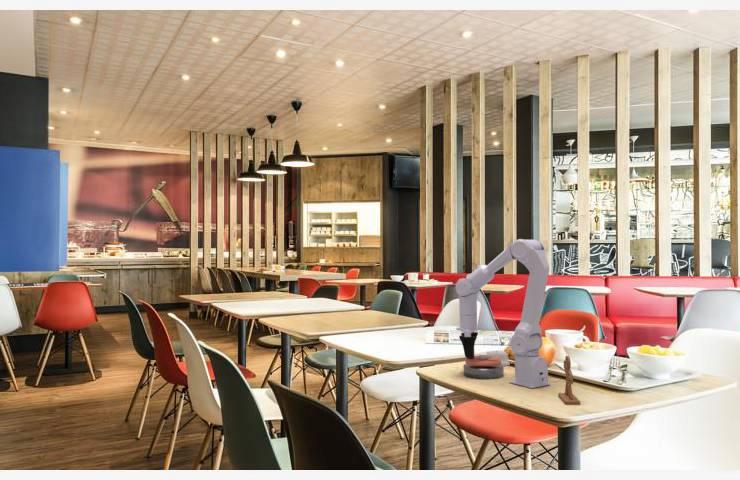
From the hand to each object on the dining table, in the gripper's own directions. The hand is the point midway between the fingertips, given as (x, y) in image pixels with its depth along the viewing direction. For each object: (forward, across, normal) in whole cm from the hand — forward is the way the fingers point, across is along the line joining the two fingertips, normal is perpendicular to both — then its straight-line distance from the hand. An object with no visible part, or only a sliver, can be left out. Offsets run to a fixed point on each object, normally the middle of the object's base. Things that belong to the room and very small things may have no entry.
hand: (469, 355), depth 185 cm
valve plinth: (+6, 0, +4) cm, 8 cm away
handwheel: (+3, 0, +4) cm, 5 cm away
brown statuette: (+6, +29, +28) cm, 41 cm away
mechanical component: (+7, -20, +9) cm, 23 cm away
